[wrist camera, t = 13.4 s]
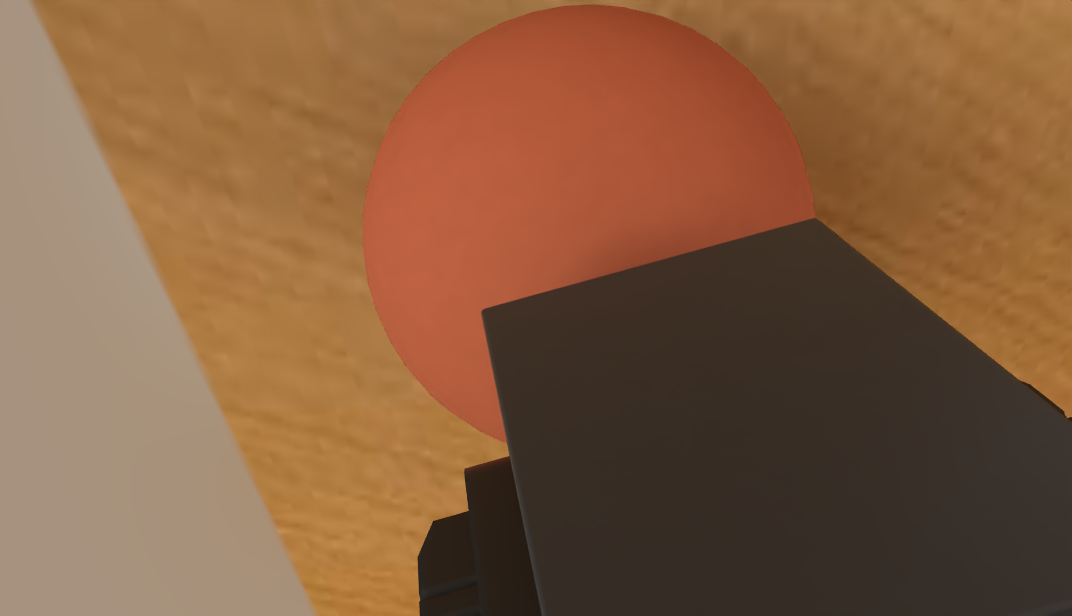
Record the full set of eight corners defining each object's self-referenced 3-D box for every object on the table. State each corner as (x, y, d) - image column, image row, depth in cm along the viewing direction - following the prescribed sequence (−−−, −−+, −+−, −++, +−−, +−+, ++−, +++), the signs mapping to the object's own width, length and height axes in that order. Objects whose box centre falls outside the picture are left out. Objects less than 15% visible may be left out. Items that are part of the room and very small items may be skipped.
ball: (426, 338, 24) (446, 614, 15) (319, 27, 19) (256, 154, 10) (719, 257, 24) (912, 480, 15) (679, -67, 20) (918, -23, 11)
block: (552, 554, 12) (668, 1041, 7) (479, 308, 10) (567, 751, 5) (830, 474, 13) (1141, 898, 7) (816, 215, 10) (1243, 554, 5)
